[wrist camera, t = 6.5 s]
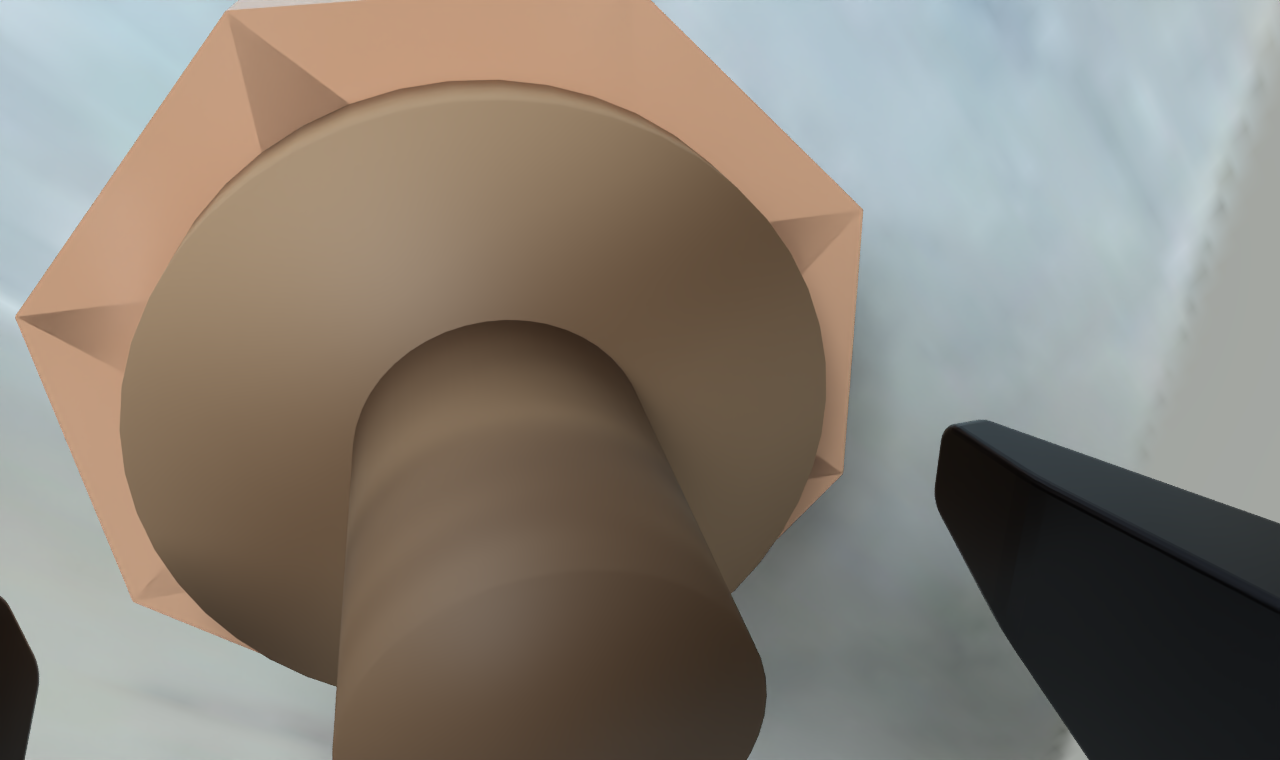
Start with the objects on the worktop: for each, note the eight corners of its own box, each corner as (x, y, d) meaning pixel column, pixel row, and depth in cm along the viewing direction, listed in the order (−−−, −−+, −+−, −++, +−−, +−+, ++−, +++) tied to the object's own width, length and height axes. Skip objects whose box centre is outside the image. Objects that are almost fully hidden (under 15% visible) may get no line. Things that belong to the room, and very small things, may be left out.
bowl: (846, 223, 16) (985, 330, 12) (513, 582, 18) (545, 769, 14) (398, -207, 12) (402, -245, 8) (25, 329, 14) (-113, 502, 10)
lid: (908, 342, 12) (1192, 600, 8) (540, 718, 14) (606, 1100, 9) (423, -96, 8) (456, -68, 4) (3, 484, 10) (-279, 930, 6)
